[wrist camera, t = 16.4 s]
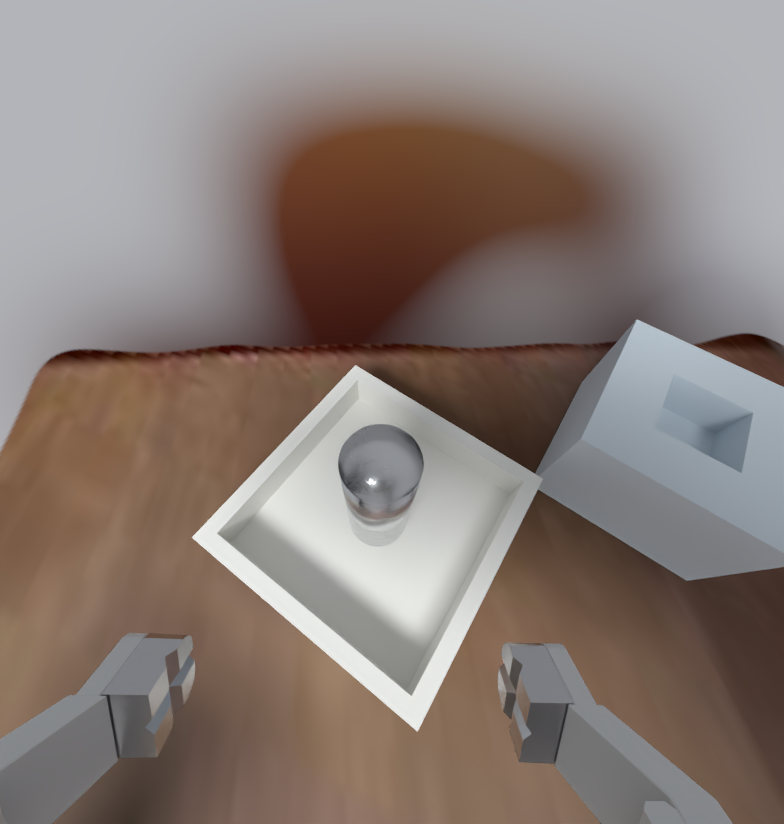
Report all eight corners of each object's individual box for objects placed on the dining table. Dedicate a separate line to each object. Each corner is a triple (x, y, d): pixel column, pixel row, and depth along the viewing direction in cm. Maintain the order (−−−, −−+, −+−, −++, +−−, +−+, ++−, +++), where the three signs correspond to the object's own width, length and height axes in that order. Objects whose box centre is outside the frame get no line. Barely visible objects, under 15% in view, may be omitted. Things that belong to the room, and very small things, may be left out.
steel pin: (417, 509, 26) (439, 452, 18) (385, 559, 25) (392, 521, 16) (371, 478, 27) (371, 410, 19) (337, 523, 26) (320, 471, 17)
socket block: (717, 452, 31) (817, 402, 24) (686, 580, 26) (803, 564, 19) (581, 381, 34) (636, 319, 27) (529, 484, 29) (580, 439, 22)
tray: (524, 494, 28) (543, 478, 25) (410, 716, 21) (417, 731, 18) (356, 389, 32) (355, 365, 29) (212, 548, 25) (191, 537, 22)
